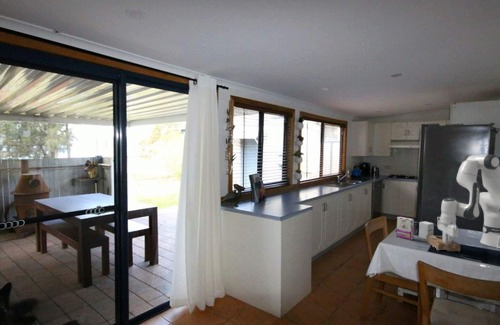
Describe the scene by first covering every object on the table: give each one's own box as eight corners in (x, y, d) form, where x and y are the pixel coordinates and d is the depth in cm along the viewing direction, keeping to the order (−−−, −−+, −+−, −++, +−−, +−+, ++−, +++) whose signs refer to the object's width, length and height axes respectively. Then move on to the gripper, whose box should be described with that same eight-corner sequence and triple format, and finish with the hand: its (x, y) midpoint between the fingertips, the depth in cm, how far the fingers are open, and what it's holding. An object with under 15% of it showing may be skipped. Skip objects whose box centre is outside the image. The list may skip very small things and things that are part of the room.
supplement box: (427, 239, 209) (428, 224, 208) (418, 236, 215) (418, 221, 215) (433, 238, 211) (434, 223, 211) (424, 235, 218) (425, 220, 217)
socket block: (445, 242, 203) (446, 235, 202) (459, 251, 185) (460, 244, 185) (425, 241, 205) (426, 234, 205) (438, 250, 188) (438, 243, 187)
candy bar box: (413, 239, 210) (414, 219, 209) (410, 240, 207) (411, 220, 206) (398, 235, 219) (399, 216, 218) (396, 236, 216) (396, 217, 215)
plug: (448, 243, 192) (448, 230, 191) (451, 245, 188) (452, 232, 187) (442, 243, 193) (442, 230, 192) (445, 245, 189) (445, 232, 188)
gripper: (461, 225, 179) (460, 244, 179) (445, 217, 199) (444, 235, 200) (451, 224, 180) (450, 244, 181) (436, 216, 200) (435, 234, 201)
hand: (447, 239), depth 190 cm, fingers closed on plug, 4 cm apart
